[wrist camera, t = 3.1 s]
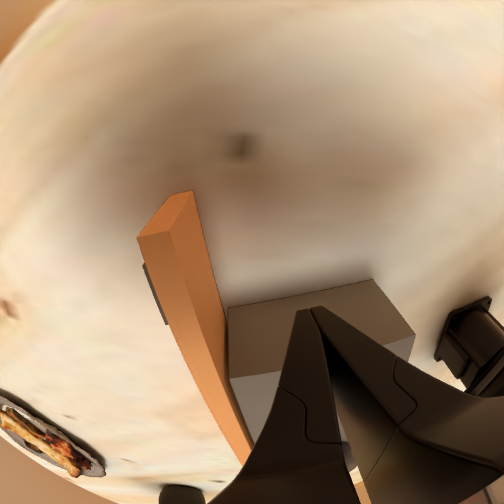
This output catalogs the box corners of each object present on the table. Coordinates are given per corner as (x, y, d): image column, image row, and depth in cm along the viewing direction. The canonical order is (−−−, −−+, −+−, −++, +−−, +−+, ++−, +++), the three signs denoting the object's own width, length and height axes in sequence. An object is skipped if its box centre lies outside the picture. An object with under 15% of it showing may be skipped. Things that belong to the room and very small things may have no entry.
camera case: (372, 279, 18) (433, 359, 11) (353, 414, 26) (374, 472, 19) (228, 307, 18) (229, 411, 11) (264, 433, 26) (272, 496, 19)
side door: (192, 190, 14) (169, 230, 9) (263, 439, 26) (268, 485, 20) (160, 197, 14) (121, 241, 9) (246, 441, 26) (250, 487, 20)
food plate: (131, 463, 30) (127, 482, 27) (81, 472, 36) (78, 484, 32) (-10, 365, 22) (-21, 382, 18) (-17, 402, 27) (-23, 414, 24)
